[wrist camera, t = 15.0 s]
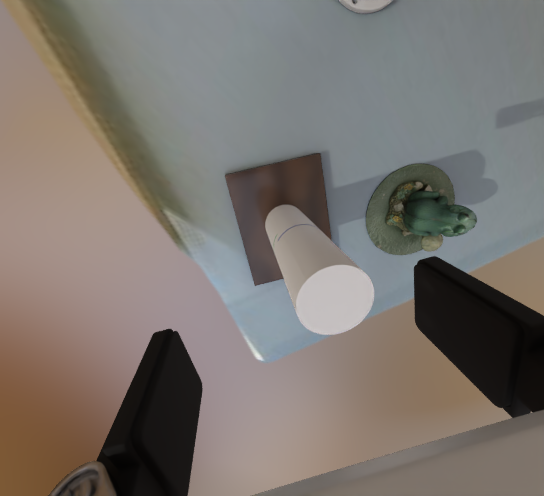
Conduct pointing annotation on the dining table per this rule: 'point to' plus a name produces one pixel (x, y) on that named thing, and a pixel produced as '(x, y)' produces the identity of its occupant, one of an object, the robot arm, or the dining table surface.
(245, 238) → the board
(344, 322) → the cylindrical container
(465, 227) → the frog figurine
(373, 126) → the dining table surface
